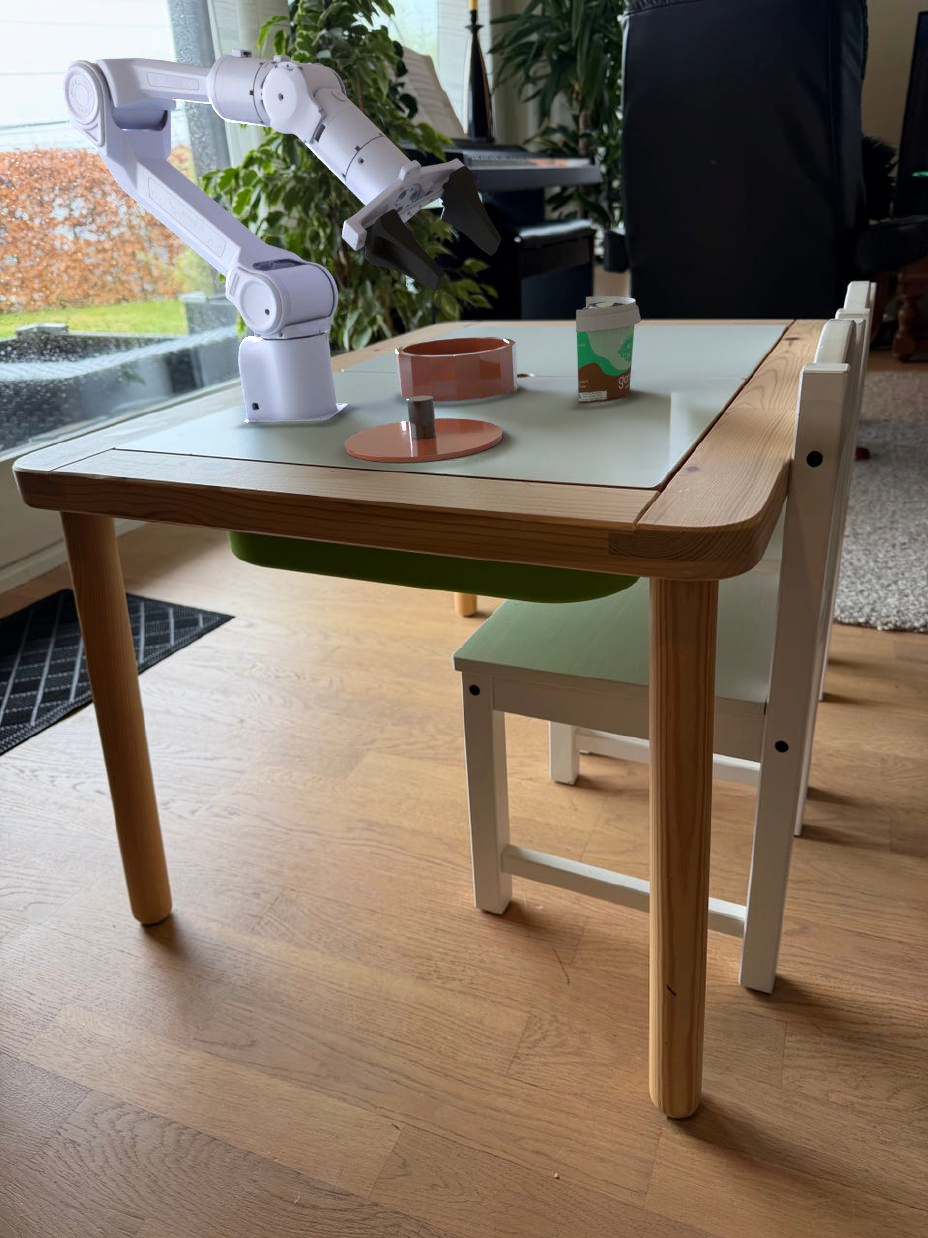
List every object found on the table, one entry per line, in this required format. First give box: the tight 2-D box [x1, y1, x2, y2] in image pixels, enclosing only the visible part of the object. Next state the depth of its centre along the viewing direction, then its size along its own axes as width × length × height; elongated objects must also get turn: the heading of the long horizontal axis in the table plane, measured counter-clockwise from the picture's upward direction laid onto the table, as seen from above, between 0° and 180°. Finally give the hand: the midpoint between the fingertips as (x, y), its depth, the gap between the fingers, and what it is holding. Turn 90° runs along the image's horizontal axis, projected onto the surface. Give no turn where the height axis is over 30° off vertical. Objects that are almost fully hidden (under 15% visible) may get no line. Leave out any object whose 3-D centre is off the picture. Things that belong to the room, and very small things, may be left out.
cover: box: [344, 396, 503, 464], centre depth 87 cm, size 15×15×5 cm
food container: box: [575, 295, 642, 404], centre depth 100 cm, size 12×6×10 cm, turn 168°
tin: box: [394, 336, 519, 402], centre depth 110 cm, size 14×14×5 cm
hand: (468, 264), depth 87 cm, fingers open, 7 cm apart
